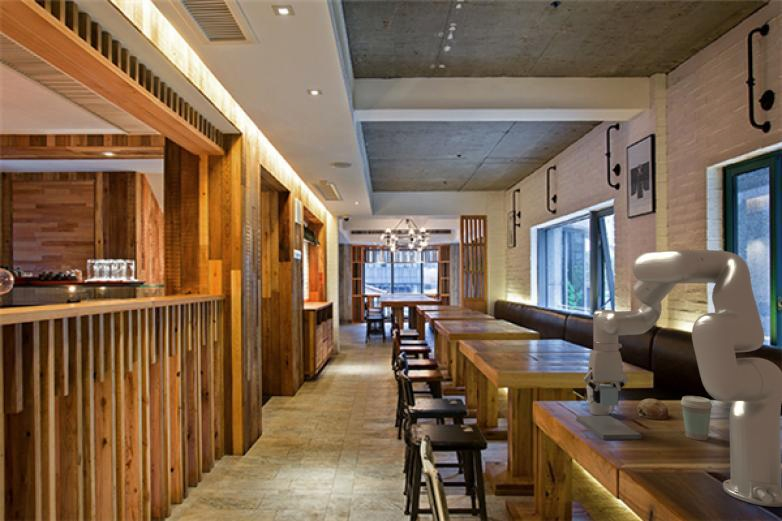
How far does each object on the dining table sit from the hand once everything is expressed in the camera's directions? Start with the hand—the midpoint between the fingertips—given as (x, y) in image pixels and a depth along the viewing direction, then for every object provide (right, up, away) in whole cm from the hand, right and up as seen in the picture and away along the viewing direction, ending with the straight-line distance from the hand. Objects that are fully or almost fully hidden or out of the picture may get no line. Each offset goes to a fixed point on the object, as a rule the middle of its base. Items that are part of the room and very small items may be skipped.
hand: (606, 401), depth 164 cm
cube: (0, -1, 0) cm, 1 cm away
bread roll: (+24, -10, +15) cm, 30 cm away
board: (0, -9, 0) cm, 9 cm away
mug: (+6, -10, +17) cm, 20 cm away
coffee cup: (+25, -9, -8) cm, 28 cm away
